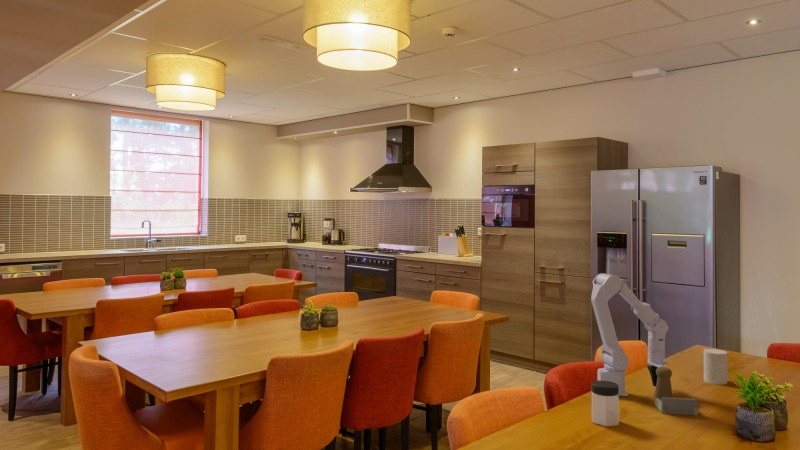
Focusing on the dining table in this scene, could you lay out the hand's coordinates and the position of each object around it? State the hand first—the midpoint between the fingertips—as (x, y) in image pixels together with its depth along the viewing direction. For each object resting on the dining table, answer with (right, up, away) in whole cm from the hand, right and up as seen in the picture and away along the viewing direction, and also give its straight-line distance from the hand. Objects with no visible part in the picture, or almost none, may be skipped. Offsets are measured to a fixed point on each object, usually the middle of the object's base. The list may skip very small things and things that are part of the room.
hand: (656, 386), depth 204 cm
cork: (-1, -2, -8) cm, 9 cm away
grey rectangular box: (-3, -2, -20) cm, 21 cm away
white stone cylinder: (+29, -2, +12) cm, 32 cm away
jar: (-31, -2, -31) cm, 44 cm away
